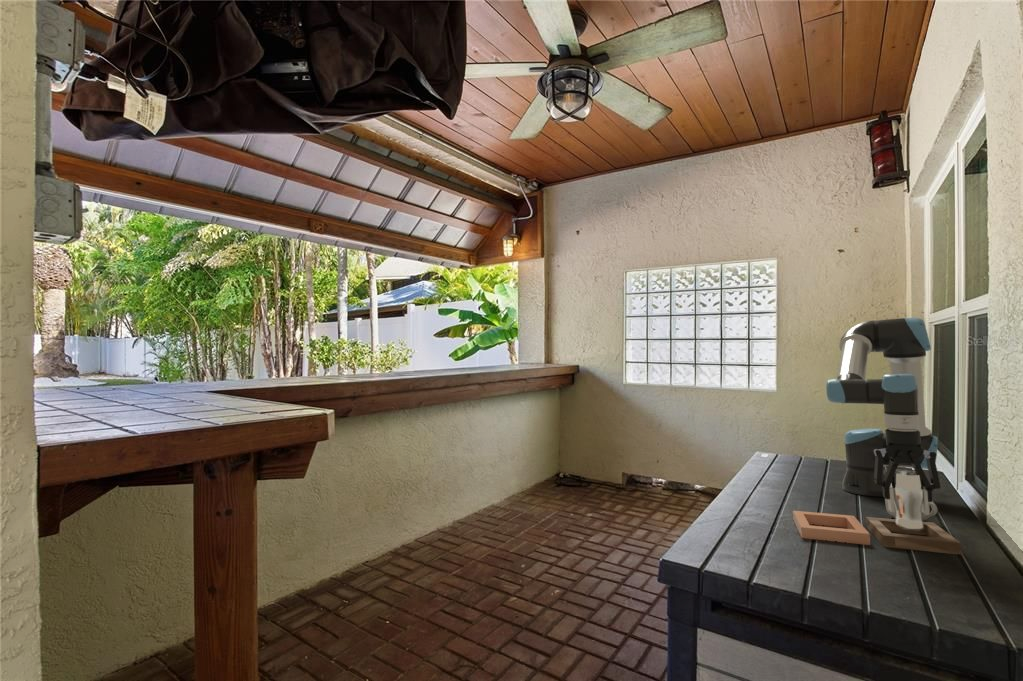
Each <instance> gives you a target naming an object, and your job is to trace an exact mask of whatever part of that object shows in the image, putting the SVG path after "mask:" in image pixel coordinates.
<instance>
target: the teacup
mask: <svg viewBox="0 0 1023 681" xmlns="http://www.w3.org/2000/svg"><path fill="white" fill-rule="evenodd" d="M884 502H885V509H886V511H887V513H888V514H889V515H890V516H892V518H893V519H896V507H895V512H891V511H890V510H889V509H888V499H885V498H884ZM894 505H895V503H894ZM928 507H929V515H925V514H924V513H923V512H922V510H921V519H922V522H925V521H926V520H928V519H929V518H930V517H933V516H936V514H937V513H938V507H937V504H935V502H933V501H932V502H928ZM930 508H931V511H930Z"/></svg>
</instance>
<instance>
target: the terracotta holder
mask: <svg viewBox="0 0 1023 681" xmlns="http://www.w3.org/2000/svg"><path fill="white" fill-rule="evenodd" d="M792 517H793V518H792V520H794V521H793V522H794V525H795V526H796V528H797V531H798V533H799V535H800V537H801V538H802V539H806V540H807V539H809V540H817V539H818V540H817V541H826V540H827V542H835V541H837V542H839V543H845V542H846V543H845V544H856V545H857V544H858V545H864V546H871V534H870V532H869V530H868V529H866V528H865V527H864V525H862V523H860V521H859V520H858V519H857V518H856V517H855V515H849V514H848V515H847V514H836V513H825V512H812V511H803V510H802V511H801V510H800V511H799V510H792ZM813 524H814V525H813ZM823 525H824V526H823ZM837 542H836V543H837Z"/></svg>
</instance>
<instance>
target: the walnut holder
mask: <svg viewBox="0 0 1023 681" xmlns="http://www.w3.org/2000/svg"><path fill="white" fill-rule="evenodd" d="M895 521H896V519H895V518H893V519H892V518H883V517H871V516H865V523H866V525H865V526H866V528H867V530H868V531H869V532H870V533H871V534H872V535H873V536H874V537H875V538H876V539H877V541H878V542H879V543H880V544H881V545H882V546H883V547H884V548H885V547H886V548H894V549H902V550H903V549H905V550H914V551H919V552H920V551H923V552H933V553H942V554H950V555H958V554H959V555H960V556H962V554H963V553H962V543H961V542H960V541H959V540H958V539H956V538H955V537H953V536H952V534H950V533H948V532H947V531H946V530H945V529H943V528H942V527H940V526H939V525H938V524H936V523H935V522H931V521H923V522H922V523H923V526H924V529H923V530H919V531H915V530H908V529H903V528H900V527H898V526H896V525H895Z"/></svg>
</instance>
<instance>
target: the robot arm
mask: <svg viewBox="0 0 1023 681" xmlns="http://www.w3.org/2000/svg"><path fill="white" fill-rule="evenodd" d="M838 348H839V350H840V352H841V353H840V358H839V364H838V369H837V373H836V374H837V375H836V378H833V379H832V378H831V379H828V380H827V381H826V388H825V389H826V397H827V400H828V401H829V402H830V403H836V404H837V403H838V404H870V405H883V409H884V410H883V412H884V413H883V414H884V415H883V416H884V427H886V429H885V432H884V431H883V430H882V429H881V428H861V429H860V428H859V429H851V430H848V431H846V432H845V434H844V446H845V462H846V470H845V474H844V476H843V479H842V490H843V491H845V492H848V493H851V494H854V495H859V496H860V495H862V496H867V497H868V496H869V497H883V498H884V500H885V499H888V509H889V510H890V511H891V512H895V505H894V491H893V488H891V482H892V480H893V477H894V473H895V472H896V470H898V469H897V468H898V467H902V468H911V469H913V471H915V472H916V474H917V475H919V474H921V477H922V482H923V503H922V509H921V510H922V512H923V513H924V514H925V515H929V513H930V512H929V507H930V506H929V507H928V502H933V491H934V490H936V489H937V490H939V489H941V484H940V479H939V478H940V477H939V473H938V467H937V464H936V463H937V454H938V445H939V444H938V443H939V440H938V437H937V436H935V435H933V434H932V433H933V432H932V430H931V429H930V428H928V427H927V426H926V416H925V415H926V414H925V402H924V389H923V376H922V374H923V373H922V363H921V362H922V360H923V359H924V358H925V357H927V353H926V352H929V351H931V350H932V348H931V343H930V338H929V335H928V331H927V327H926V324H925V321H924V320H923V319H922V318H920V317H903V318H902V317H901V318H889V319H888V318H887V319H877V320H866V321H862V322H860V323H858V324H856V325H854V326H852V327H851V328H849V329H848V330H847V331H846V332H845V333H844V334H843V335H842V337H841V338H840V341H839V347H838ZM870 353H883V354H882V355H883V356H882V357H883V358H885V359H886V360H887V361H888V364H889V374H883V375H882V377H881V378H879V379H875V378H874V379H873V378H871V379H869V378H866V375H867V365H868V356H869V354H870ZM886 466H887V469H886V468H885V467H886ZM924 469H926V470H928V476H929V480H930V481H929V480H928V477H927V475H926V474H925V471H924Z"/></svg>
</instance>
